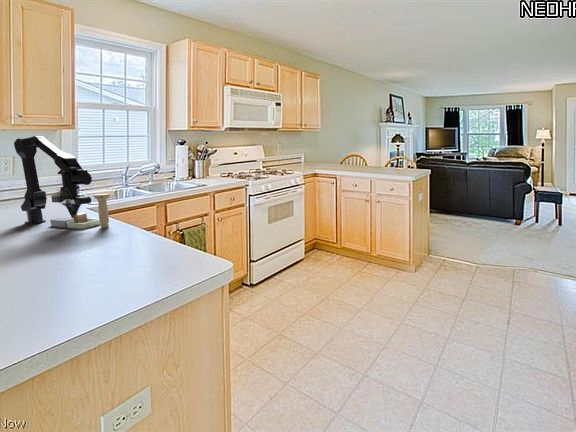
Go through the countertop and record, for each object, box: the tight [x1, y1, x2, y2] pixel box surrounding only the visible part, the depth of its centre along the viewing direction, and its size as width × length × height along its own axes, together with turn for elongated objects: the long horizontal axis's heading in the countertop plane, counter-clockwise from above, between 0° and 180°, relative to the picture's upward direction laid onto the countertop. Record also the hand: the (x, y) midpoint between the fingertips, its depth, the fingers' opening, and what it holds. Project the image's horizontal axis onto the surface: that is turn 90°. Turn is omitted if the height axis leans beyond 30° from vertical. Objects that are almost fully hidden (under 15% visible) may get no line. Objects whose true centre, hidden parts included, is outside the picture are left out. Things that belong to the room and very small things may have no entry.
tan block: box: [73, 212, 88, 223], centre depth 181 cm, size 5×5×2 cm
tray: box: [66, 217, 101, 230], centre depth 181 cm, size 10×10×2 cm
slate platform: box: [50, 216, 74, 228], centre depth 183 cm, size 9×7×3 cm
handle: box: [93, 193, 111, 229], centre depth 177 cm, size 5×6×15 cm
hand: (73, 218), depth 182 cm, fingers closed
